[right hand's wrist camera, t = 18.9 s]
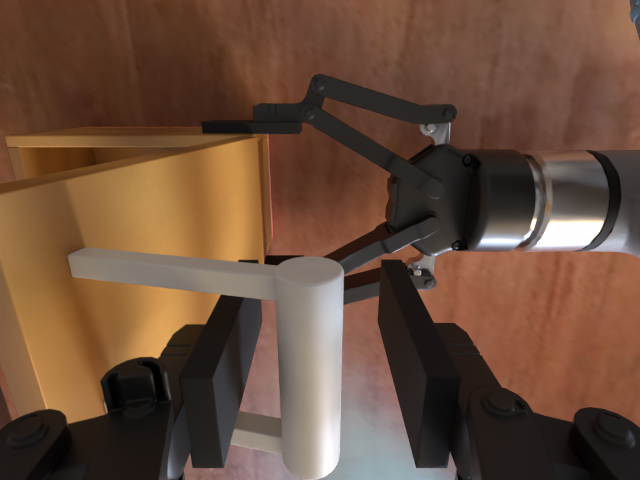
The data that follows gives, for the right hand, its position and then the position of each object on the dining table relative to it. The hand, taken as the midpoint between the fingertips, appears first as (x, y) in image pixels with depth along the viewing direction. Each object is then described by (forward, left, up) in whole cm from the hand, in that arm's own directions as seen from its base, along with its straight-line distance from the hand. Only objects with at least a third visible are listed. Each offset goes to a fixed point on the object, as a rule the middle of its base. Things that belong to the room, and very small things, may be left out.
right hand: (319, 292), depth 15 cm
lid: (-6, +2, -3) cm, 7 cm away
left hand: (-7, +3, -14) cm, 16 cm away
